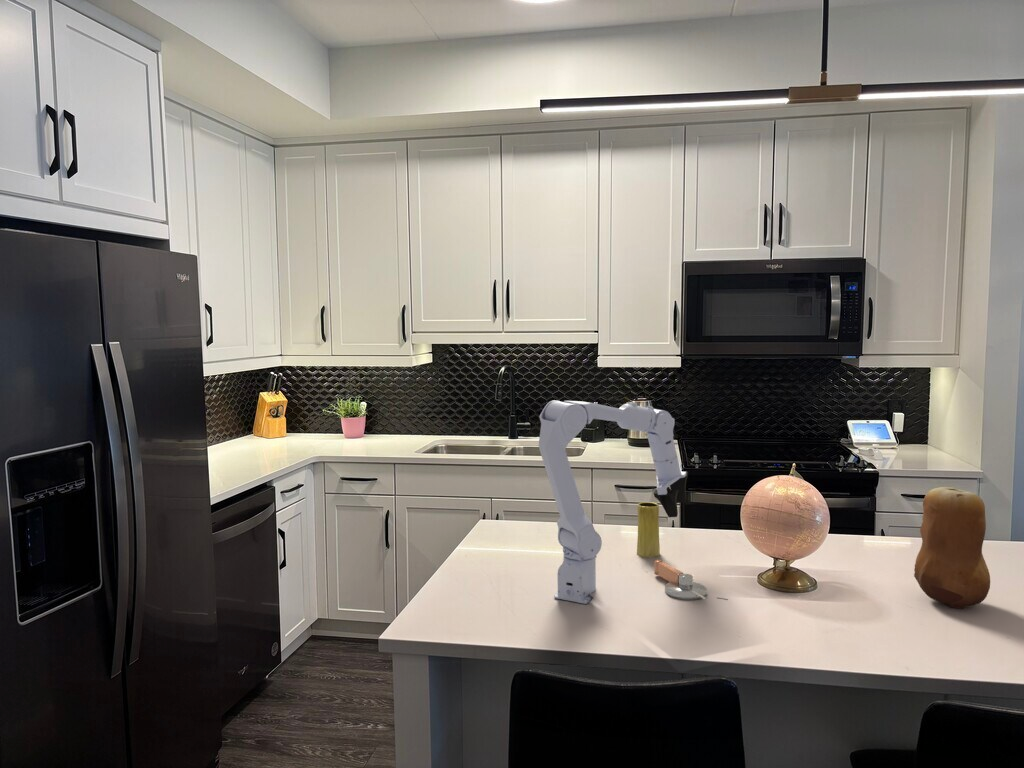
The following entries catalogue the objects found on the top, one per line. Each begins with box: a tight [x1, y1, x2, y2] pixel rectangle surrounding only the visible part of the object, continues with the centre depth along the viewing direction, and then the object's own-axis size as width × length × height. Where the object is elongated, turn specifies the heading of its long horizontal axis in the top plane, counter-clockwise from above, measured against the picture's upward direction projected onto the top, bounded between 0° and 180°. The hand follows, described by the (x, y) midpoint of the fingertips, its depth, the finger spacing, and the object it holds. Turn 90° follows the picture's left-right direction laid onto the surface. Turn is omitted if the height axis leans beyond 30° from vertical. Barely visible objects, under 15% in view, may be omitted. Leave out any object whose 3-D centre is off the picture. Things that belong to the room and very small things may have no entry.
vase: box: [636, 501, 661, 558], centre depth 188 cm, size 6×6×14 cm
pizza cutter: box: [653, 559, 708, 601], centre depth 164 cm, size 19×9×4 cm, turn 21°
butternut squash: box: [913, 486, 991, 610], centre depth 155 cm, size 14×13×25 cm
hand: (677, 509), depth 176 cm, fingers open, 7 cm apart
